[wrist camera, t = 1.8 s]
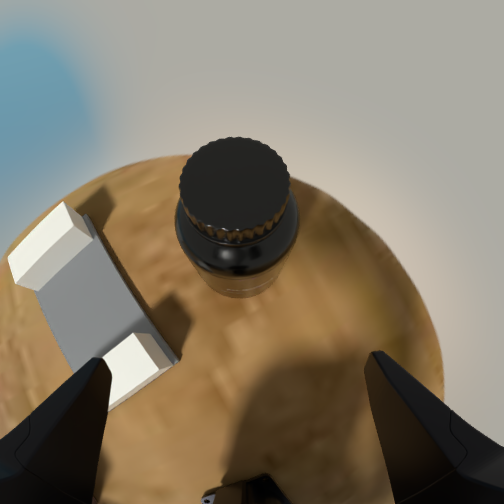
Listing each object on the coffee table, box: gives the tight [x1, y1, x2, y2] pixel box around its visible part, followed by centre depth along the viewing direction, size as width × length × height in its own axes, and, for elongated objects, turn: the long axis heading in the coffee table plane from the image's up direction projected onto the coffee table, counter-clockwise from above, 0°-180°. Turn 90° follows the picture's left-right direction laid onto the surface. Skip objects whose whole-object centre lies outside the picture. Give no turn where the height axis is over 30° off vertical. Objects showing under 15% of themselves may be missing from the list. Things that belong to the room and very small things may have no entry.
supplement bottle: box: [175, 137, 300, 298], centre depth 17 cm, size 7×7×12 cm
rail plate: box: [8, 201, 180, 412], centre depth 20 cm, size 16×9×4 cm, turn 39°
